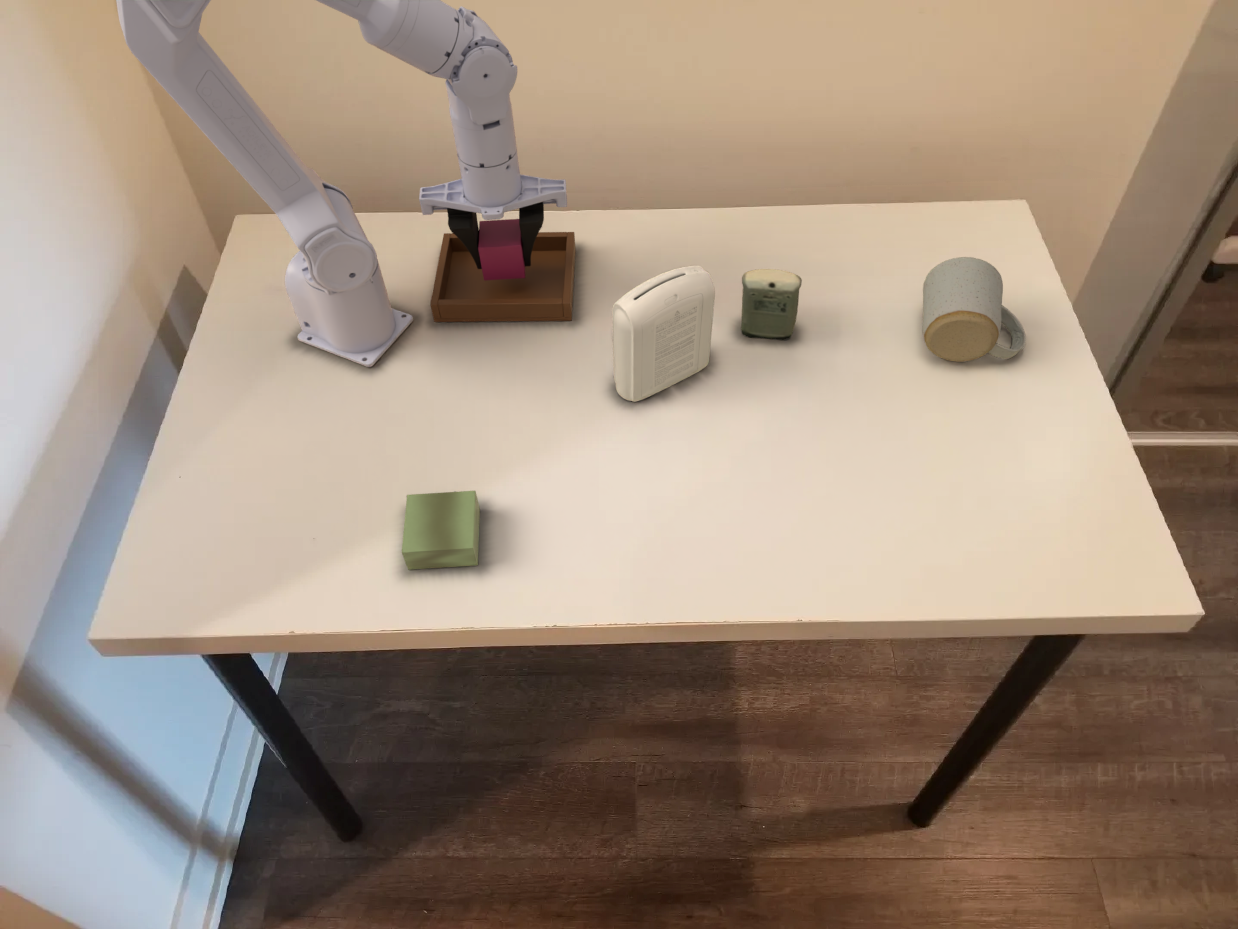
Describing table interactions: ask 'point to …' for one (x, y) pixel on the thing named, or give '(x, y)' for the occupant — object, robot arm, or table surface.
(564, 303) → the tray
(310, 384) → the table surface
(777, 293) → the grey-green labelled box
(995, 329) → the ceramic mug
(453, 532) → the base slab
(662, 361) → the photo printer
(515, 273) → the pink block
